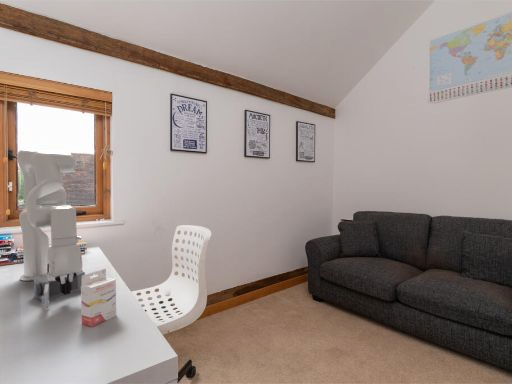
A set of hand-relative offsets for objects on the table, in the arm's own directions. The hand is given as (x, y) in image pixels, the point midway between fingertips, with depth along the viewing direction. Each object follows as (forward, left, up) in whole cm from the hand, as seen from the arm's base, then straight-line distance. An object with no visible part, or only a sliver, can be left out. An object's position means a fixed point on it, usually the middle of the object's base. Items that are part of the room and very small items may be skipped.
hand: (66, 293), depth 103 cm
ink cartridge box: (+23, -1, -4) cm, 23 cm away
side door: (-3, -5, -3) cm, 6 cm away
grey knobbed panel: (-13, +3, -4) cm, 14 cm away
